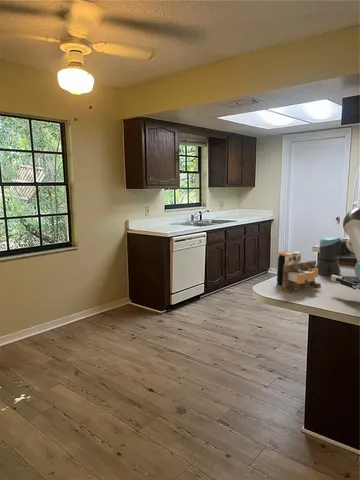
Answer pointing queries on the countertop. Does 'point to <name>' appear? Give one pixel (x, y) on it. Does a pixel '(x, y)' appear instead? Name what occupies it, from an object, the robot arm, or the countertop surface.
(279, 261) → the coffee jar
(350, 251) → the robot arm
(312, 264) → the button panel
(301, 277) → the button
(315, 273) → the button
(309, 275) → the button middle
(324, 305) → the countertop surface
